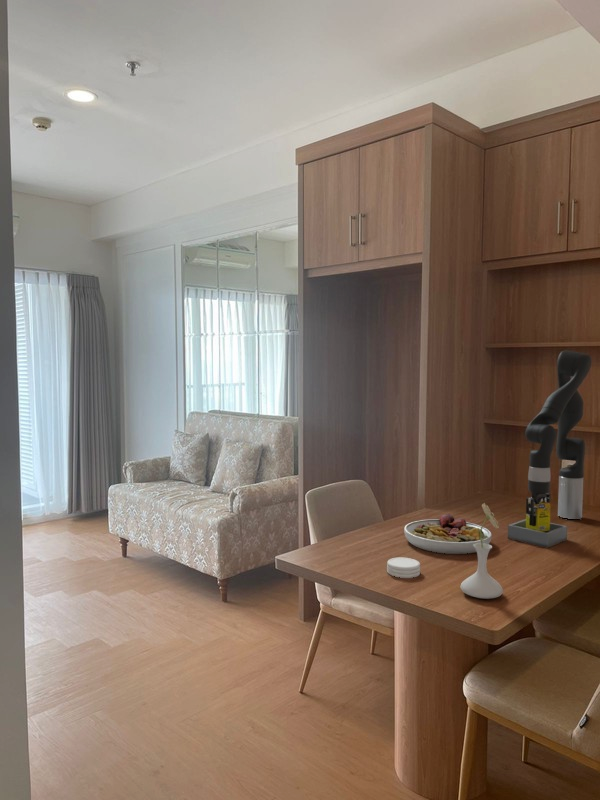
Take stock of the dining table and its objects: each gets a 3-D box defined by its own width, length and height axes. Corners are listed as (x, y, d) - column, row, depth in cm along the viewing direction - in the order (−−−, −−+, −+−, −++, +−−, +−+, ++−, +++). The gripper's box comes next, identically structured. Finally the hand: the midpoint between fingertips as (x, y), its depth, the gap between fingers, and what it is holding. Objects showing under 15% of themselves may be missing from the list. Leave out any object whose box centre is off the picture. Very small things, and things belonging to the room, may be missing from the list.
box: (527, 531, 233) (528, 518, 233) (566, 539, 222) (567, 526, 222) (507, 538, 223) (508, 525, 223) (547, 548, 212) (547, 533, 212)
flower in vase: (501, 605, 162) (504, 512, 160) (457, 598, 166) (459, 508, 164) (504, 588, 174) (507, 501, 172) (463, 582, 178) (465, 498, 177)
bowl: (495, 560, 200) (496, 536, 199) (402, 553, 206) (403, 531, 205) (486, 534, 229) (487, 514, 228) (405, 529, 235) (405, 509, 234)
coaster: (380, 572, 187) (380, 560, 187) (402, 565, 194) (402, 554, 193) (404, 581, 180) (404, 569, 179) (427, 574, 186) (427, 563, 185)
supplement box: (550, 532, 221) (551, 503, 220) (537, 534, 219) (538, 504, 218) (538, 528, 226) (539, 499, 226) (525, 530, 224) (526, 500, 223)
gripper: (539, 483, 214) (538, 529, 215) (558, 478, 223) (556, 522, 224) (519, 480, 219) (518, 525, 220) (538, 475, 229) (537, 518, 230)
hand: (537, 523), depth 222 cm, fingers closed on supplement box, 7 cm apart
